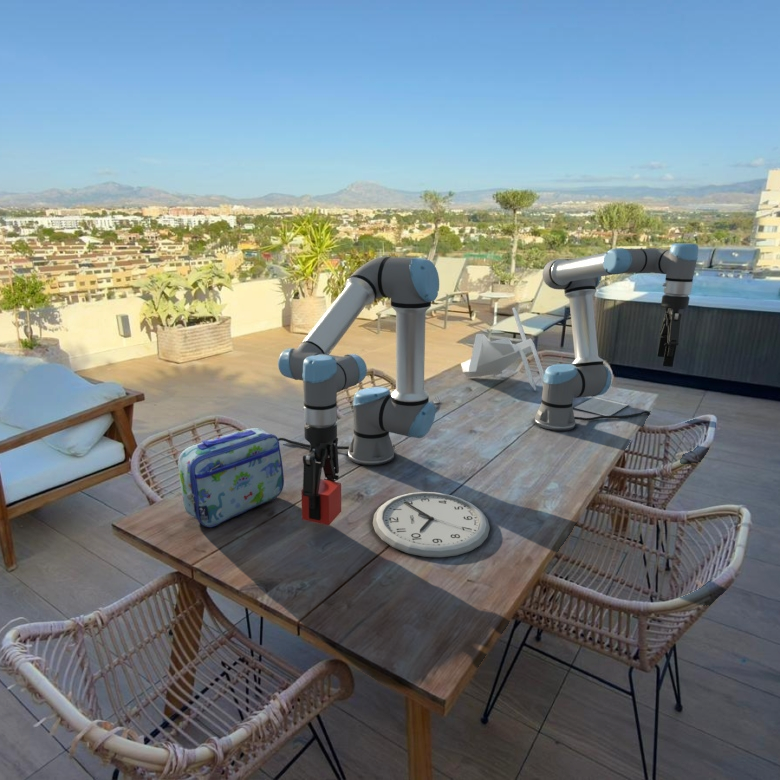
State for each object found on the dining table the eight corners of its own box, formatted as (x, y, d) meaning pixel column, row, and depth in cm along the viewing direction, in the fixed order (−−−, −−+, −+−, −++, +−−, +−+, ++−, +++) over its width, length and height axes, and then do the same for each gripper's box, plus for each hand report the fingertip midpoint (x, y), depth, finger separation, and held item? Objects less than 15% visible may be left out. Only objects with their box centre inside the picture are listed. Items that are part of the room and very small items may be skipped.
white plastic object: (482, 419, 265) (461, 396, 241) (463, 346, 287) (443, 319, 263) (553, 395, 253) (539, 368, 228) (528, 321, 275) (513, 290, 250)
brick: (315, 506, 132) (314, 477, 130) (341, 511, 130) (341, 482, 128) (302, 519, 126) (301, 490, 124) (329, 525, 124) (328, 495, 121)
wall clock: (504, 548, 122) (376, 553, 119) (504, 554, 122) (376, 559, 120) (474, 487, 150) (370, 490, 148) (473, 492, 151) (370, 495, 148)
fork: (425, 410, 217) (425, 406, 216) (435, 399, 231) (435, 395, 231) (431, 411, 216) (431, 407, 215) (441, 400, 230) (441, 396, 230)
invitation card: (608, 416, 214) (573, 407, 224) (608, 416, 214) (573, 408, 224) (628, 404, 229) (594, 396, 238) (628, 405, 229) (594, 397, 238)
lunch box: (198, 536, 127) (190, 457, 121) (179, 518, 135) (170, 443, 128) (288, 499, 145) (285, 429, 139) (267, 486, 152) (263, 418, 146)
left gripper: (325, 407, 131) (326, 490, 138) (284, 435, 113) (287, 528, 120) (352, 411, 129) (352, 495, 135) (315, 440, 111) (317, 535, 117)
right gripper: (657, 290, 175) (647, 352, 181) (668, 298, 152) (656, 369, 158) (683, 291, 172) (671, 354, 179) (697, 300, 150) (684, 371, 156)
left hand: (322, 510), depth 127 cm, fingers closed on brick, 7 cm apart
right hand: (664, 361), depth 169 cm, fingers open, 13 cm apart
